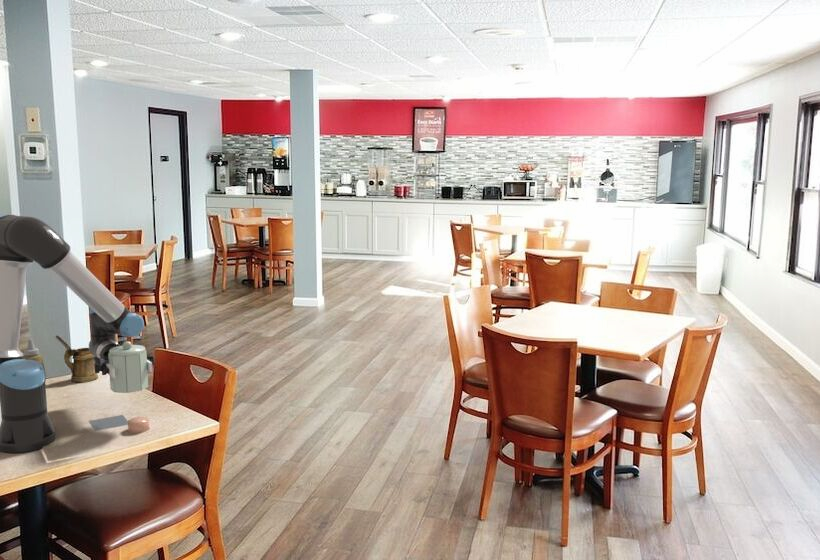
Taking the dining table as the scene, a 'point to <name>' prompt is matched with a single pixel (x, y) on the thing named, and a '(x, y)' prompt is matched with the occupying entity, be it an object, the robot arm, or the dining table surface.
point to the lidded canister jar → (128, 368)
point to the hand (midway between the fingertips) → (132, 370)
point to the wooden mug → (80, 363)
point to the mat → (109, 422)
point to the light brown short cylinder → (138, 425)
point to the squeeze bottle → (33, 354)
